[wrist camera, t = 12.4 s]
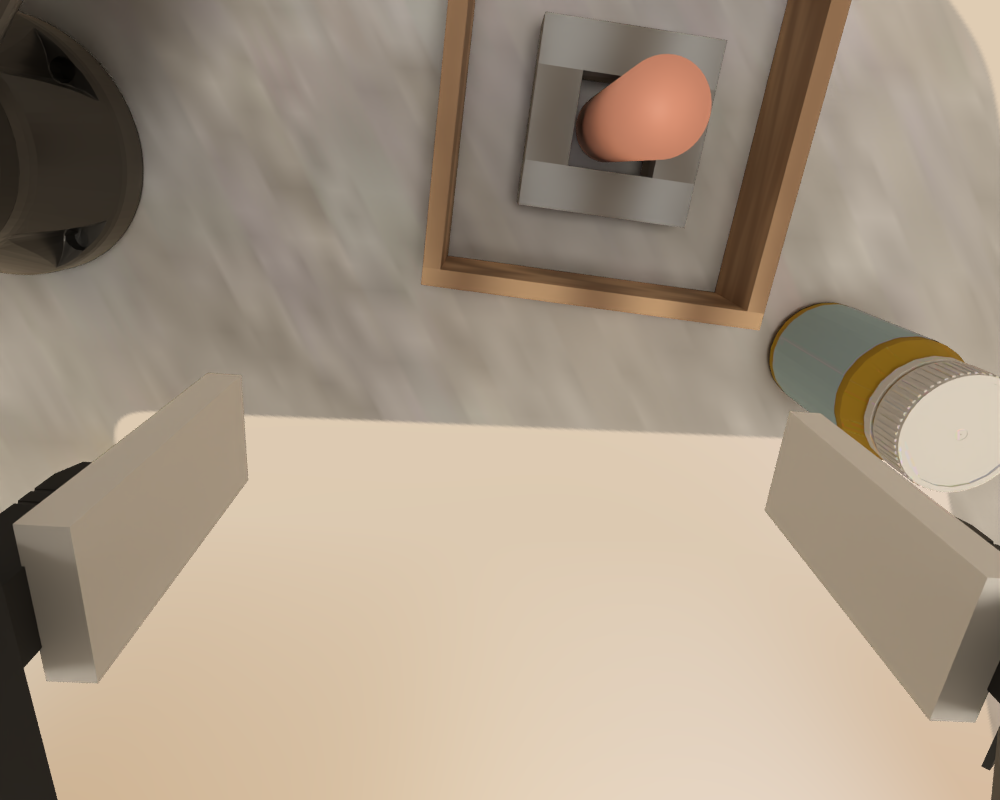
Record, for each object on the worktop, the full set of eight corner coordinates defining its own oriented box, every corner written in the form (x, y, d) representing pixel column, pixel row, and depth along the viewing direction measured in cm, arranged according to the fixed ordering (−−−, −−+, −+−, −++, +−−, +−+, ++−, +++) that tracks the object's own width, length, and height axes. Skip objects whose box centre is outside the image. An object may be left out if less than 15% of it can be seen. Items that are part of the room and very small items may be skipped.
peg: (570, 157, 40) (606, 152, 27) (582, 87, 39) (625, 46, 26) (633, 166, 41) (698, 166, 27) (646, 97, 39) (722, 61, 26)
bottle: (790, 289, 43) (931, 348, 29) (885, 315, 44) (1068, 386, 30) (750, 384, 46) (863, 482, 32) (841, 408, 46) (991, 514, 32)
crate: (431, 268, 43) (421, 284, 37) (466, -91, 36) (461, -138, 30) (725, 308, 44) (759, 330, 38) (813, -33, 37) (870, -69, 31)
